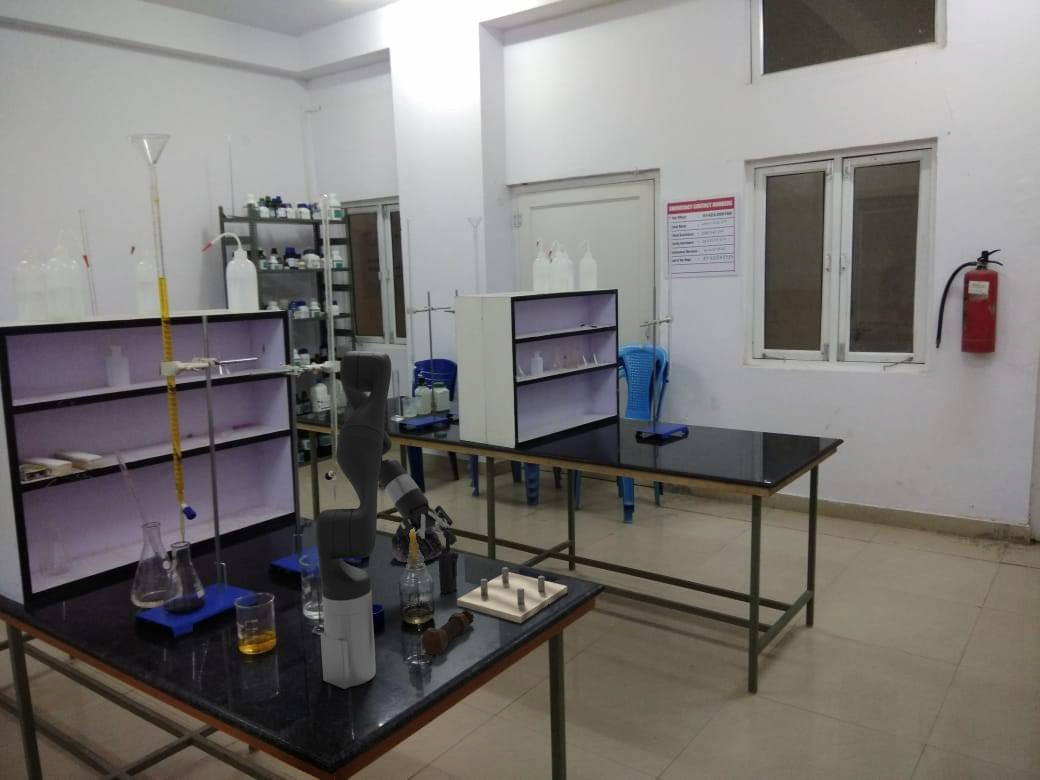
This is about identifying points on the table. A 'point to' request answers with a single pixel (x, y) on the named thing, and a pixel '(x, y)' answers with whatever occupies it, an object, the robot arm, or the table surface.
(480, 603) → the peg cradle
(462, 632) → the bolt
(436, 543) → the crystal cluster
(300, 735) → the table surface
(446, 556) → the two-way radio
